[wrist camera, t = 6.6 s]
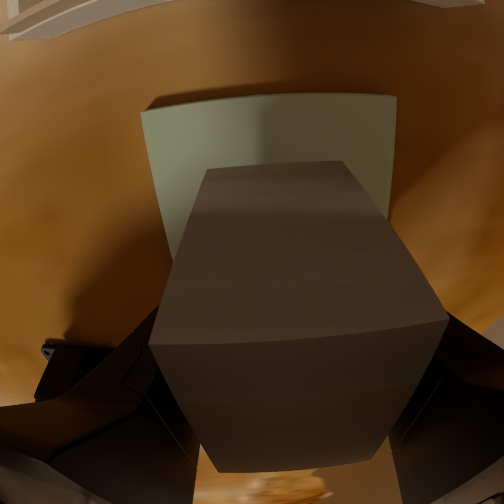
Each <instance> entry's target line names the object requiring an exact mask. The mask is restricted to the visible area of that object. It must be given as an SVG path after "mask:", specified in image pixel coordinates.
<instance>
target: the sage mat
mask: <svg viewBox="0 0 504 504" xmlns="http://www.w3.org/2000/svg"><path fill="white" fill-rule="evenodd" d="M396 104H397V97H395V96H392V95H383V94H365V93H281V94H263V95H249V96H238V97H227V98H218V99H210V100H202V101H195V102H188V103H181V104H175V105H169V106H163V107H157V108H152V109H146V110H144V111H142V112H140V113H141V119H142V125H143V130H144V135H145V141H146V146H147V151H148V156H149V161H150V166H151V171H152V176H153V180H154V185H155V190H156V194H157V199H158V203H159V207H160V212H161V216H162V220H163V224H164V228H165V232H166V236H167V240H168V244H169V248H170V252H171V256H172V260H173V262H174V259H175V256H176V253H177V250H178V247H179V244H180V241H181V238H182V236H183V233H184V230H185V227H186V224H187V221H188V218H189V216H190V213H191V210H192V207H193V205H194V202H195V199H196V196H197V194H198V191H199V188H200V186H201V183H202V180H203V178H204V175H205V173H206V170H207V169H214V168H224V167H235V166H247V165H260V164H275V163H292V162H314V161H342V162H343V163H344V164H345V165H346V167H347V168H348V169H349V170H350V172H351V173H352V174H353V175H354V177H355V178H356V179H357V180H358V182H359V183H360V184H361V186H362V187H363V188H364V189H365V191H366V192H367V193H368V195H369V196H370V197H371V199H372V200H373V201H374V203H375V204H376V205H377V207H378V208H379V209H380V211H381V212H382V214H383V215H384V216H385V218H386V219H387V218H388V210H389V202H390V193H391V183H392V173H393V161H394V148H395V131H396Z"/></svg>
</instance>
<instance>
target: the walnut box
mask: <svg viewBox="0 0 504 504" xmlns="http://www.w3.org/2000/svg"><path fill="white" fill-rule="evenodd" d="M449 320H450V318H449V316H448V314H447V313H446V311H445V309H444V307H443V306H442V304H441V302H440V300H439V299H438V297H437V295H436V294H435V292H434V290H433V289H432V287H431V285H430V284H429V282H428V281H427V279H426V277H425V276H424V274H423V273H422V271H421V269H420V268H419V266H418V265H417V263H416V262H415V260H414V259H413V257H412V255H411V254H410V252H409V251H408V249H407V248H406V246H405V245H404V243H403V242H402V241H401V239H400V238H399V236H398V235H397V233H396V232H395V230H394V229H393V228H392V226H391V225H390V223H389V222H388V220H387V219H386V218H385V216H384V215H383V214H382V212H381V211H380V209H379V208H378V207H377V205H376V204H375V203H374V201H373V200H372V199H371V197H370V196H369V195H368V193H367V192H366V191H365V189H364V188H363V187H362V186H361V184H360V183H359V182H358V180H357V179H356V178H355V177H354V175H353V174H352V173H351V172H350V170H349V169H348V168H347V167H346V165H345V164H344V163H343V162H342V161H314V162H292V163H275V164H260V165H247V166H235V167H224V168H214V169H207V170H206V173H205V175H204V178H203V180H202V183H201V186H200V188H199V191H198V194H197V196H196V199H195V202H194V205H193V207H192V210H191V213H190V216H189V218H188V221H187V224H186V227H185V230H184V233H183V236H182V238H181V241H180V244H179V247H178V250H177V253H176V256H175V259H174V262H173V265H172V268H171V271H170V274H169V277H168V280H167V284H166V287H165V290H164V293H163V296H162V300H161V303H160V306H159V309H158V313H157V316H156V319H155V323H154V326H153V329H152V333H151V336H150V340H149V343H148V345H149V347H150V349H151V351H152V353H153V355H154V358H155V360H156V362H157V364H158V366H159V368H160V370H161V372H162V374H163V376H164V378H165V380H166V382H167V384H168V386H169V388H170V390H171V392H172V394H173V395H174V397H175V399H176V401H177V403H178V405H179V407H180V409H181V410H182V412H183V414H184V416H185V418H186V419H187V421H188V423H189V425H190V426H191V428H192V430H193V432H194V433H195V435H196V437H197V438H198V440H199V442H200V443H201V445H202V447H203V448H204V450H205V452H206V453H207V455H208V457H209V458H210V460H211V461H212V463H213V465H214V466H215V468H216V469H217V471H218V472H219V473H255V472H278V471H293V470H304V469H313V468H322V467H330V466H337V465H343V464H350V463H355V462H361V461H366V460H371V458H372V457H373V456H374V454H375V453H376V451H377V450H378V448H379V447H380V446H381V444H382V443H383V441H384V440H385V438H386V437H387V435H388V434H389V432H390V431H391V429H392V428H393V426H394V424H395V423H396V421H397V420H398V418H399V417H400V415H401V413H402V412H403V410H404V408H405V407H406V405H407V403H408V402H409V400H410V398H411V396H412V395H413V393H414V391H415V389H416V387H417V386H418V384H419V382H420V380H421V378H422V376H423V375H424V373H425V371H426V369H427V367H428V365H429V363H430V361H431V359H432V357H433V355H434V353H435V351H436V349H437V347H438V344H439V342H440V340H441V338H442V336H443V334H444V331H445V329H446V327H447V325H448V322H449Z"/></svg>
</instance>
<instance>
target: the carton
mask: <svg viewBox="0 0 504 504" xmlns="http://www.w3.org/2000/svg"><path fill="white" fill-rule="evenodd" d="M169 1H174V0H7V4H8V21H7V22H5V23H3V24H2V25H0V34H9V39H10V41H17V40H30V39H53V38H55V37H58V36H60V35H62V34H65V33H67V32H70V31H72V30H75V29H77V28H80V27H83V26H85V25H88V24H91V23H94V22H97V21H99V20H102V19H105V18H109V17H112V16H115V15H118V14H122V13H125V12H128V11H132V10H136V9H139V8H143V7H147V6H151V5H156V4H160V3H165V2H169ZM409 1H414V2H419V3H423V4H427V5H431V6H435V7H439V8H450V7H459V6H469V5H482V4H485V0H409Z"/></svg>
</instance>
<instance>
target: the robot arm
mask: <svg viewBox="0 0 504 504" xmlns="http://www.w3.org/2000/svg"><path fill="white" fill-rule="evenodd" d="M159 306H160V304H159V305H158V306H157V307H156V308H155V309H154V310H153V311H152V312H151V313H150V314H149V315H148V316H147V317H146V318H145V319H144V320H143V321H142V322H141V323H140V325H139V326H138V327H137V328H136V329H135V330H134V331H133V332H134V333H133V332H132V333H131V334H130V335H129V336H128V337H127V338H126V339H125V340H124V341H123V342H122V343H121V344H120V345H119V346H118V347H117V348H116V349H115V350H114V349H105V348H88V347H75V346H62V345H52V344H43V346H42V348H41V352H42V353H43V355H44V356H45V358H46V359H47V360H48V364H47V367H46V369H45V371H44V373H43V375H42V378H41V380H40V382H39V385H38V387H37V389H36V392H35V394H34V398H35V399H36V400H35V402H33V403H26V404H19V405H11V406H3V407H0V504H192V503H193V495H194V488H195V480H196V472H197V468H196V467H197V464H198V457H199V449H200V442H199V440H198V438H197V437H196V435H195V433H194V432H193V430H192V428H191V426H190V425H189V423H188V421H187V419H186V418H185V416H184V414H183V412H182V410H181V409H180V407H179V405H178V403H177V401H176V399H175V397H174V395H173V394H172V392H171V390H170V388H169V386H168V384H167V382H166V380H165V378H164V376H163V374H162V372H161V370H160V368H159V366H158V364H157V362H156V360H155V358H154V355H153V353H152V351H151V349H150V347H149V345H148V343H149V340H150V336H151V333H152V329H153V326H154V323H155V319H156V316H157V313H158V309H159ZM445 311H446V310H445ZM446 313H447V314H448V316H449V318H450V320H449V322H448V325H447V327H446V329H445V331H444V334H443V336H442V338H441V340H440V342H439V344H438V347H437V349H436V351H435V353H434V355H433V357H432V359H431V361H430V363H429V365H428V367H427V369H426V371H425V373H424V375H423V376H422V378H421V380H420V382H419V384H418V386H417V387H416V389H415V391H414V393H413V395H412V396H411V398H410V400H409V402H408V403H407V405H406V407H405V408H404V410H403V412H402V413H401V415H400V417H399V418H398V420H397V421H396V423H395V424H394V426H393V428H392V429H391V431H390V432H389V434H388V438H389V442H390V446H391V450H392V455H393V460H394V464H395V469H396V473H397V478H398V483H399V488H400V493H401V498H402V503H403V504H504V349H502V348H500V347H499V346H497V345H496V344H494V343H493V342H491V341H490V340H488V339H487V338H485V337H483V336H482V335H480V334H479V333H477V332H476V331H474V330H473V329H471V328H470V327H468V326H467V325H465V324H464V323H462V322H461V321H460V320H458V319H457V318H455V317H454V316H453V315H451V314H450V313H449V312H447V311H446Z"/></svg>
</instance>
